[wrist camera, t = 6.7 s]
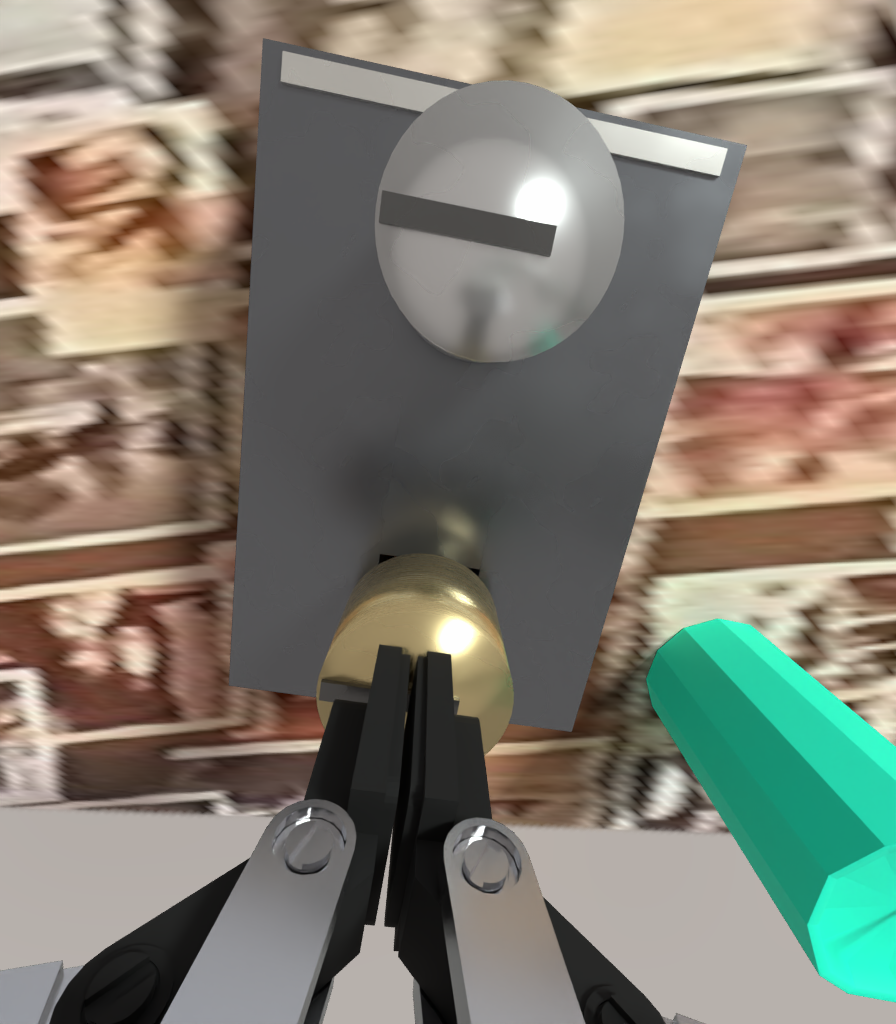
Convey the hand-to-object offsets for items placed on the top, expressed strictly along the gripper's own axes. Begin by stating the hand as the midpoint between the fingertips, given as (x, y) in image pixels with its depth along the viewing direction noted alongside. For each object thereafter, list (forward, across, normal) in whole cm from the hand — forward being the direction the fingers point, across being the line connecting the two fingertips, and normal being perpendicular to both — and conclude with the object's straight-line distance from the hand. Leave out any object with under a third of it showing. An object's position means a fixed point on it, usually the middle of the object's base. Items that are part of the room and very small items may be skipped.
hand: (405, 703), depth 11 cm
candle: (+10, -14, +4) cm, 18 cm away
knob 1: (+9, 0, -10) cm, 13 cm away
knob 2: (+8, 0, 0) cm, 8 cm away
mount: (+10, 0, -5) cm, 11 cm away
